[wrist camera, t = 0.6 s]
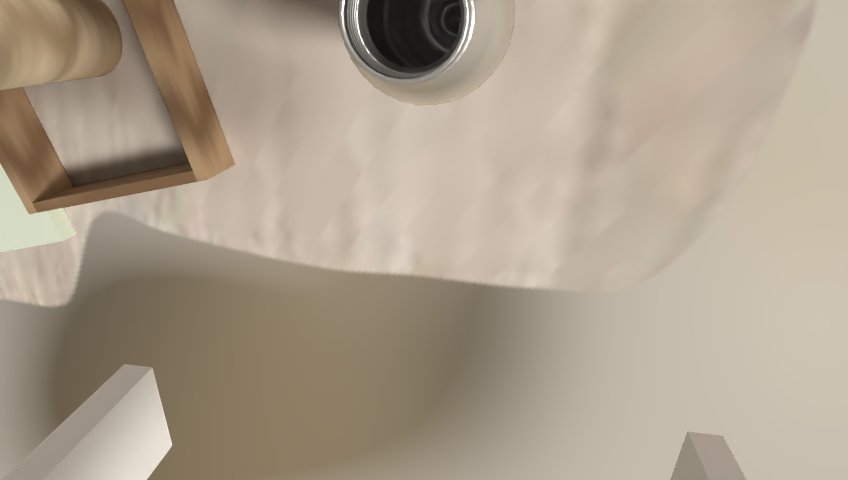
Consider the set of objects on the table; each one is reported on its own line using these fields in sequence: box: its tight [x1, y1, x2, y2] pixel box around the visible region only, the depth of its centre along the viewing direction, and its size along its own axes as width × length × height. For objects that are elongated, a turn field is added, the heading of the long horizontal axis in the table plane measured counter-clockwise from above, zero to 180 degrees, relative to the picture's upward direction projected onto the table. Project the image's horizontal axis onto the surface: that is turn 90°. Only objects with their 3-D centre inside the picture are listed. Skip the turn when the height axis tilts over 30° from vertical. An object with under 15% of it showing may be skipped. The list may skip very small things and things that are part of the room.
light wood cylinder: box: [0, 0, 122, 90], centre depth 31 cm, size 6×6×9 cm
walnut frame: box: [0, 0, 235, 214], centre depth 33 cm, size 23×16×4 cm
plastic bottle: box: [339, 0, 515, 105], centre depth 22 cm, size 6×7×20 cm
